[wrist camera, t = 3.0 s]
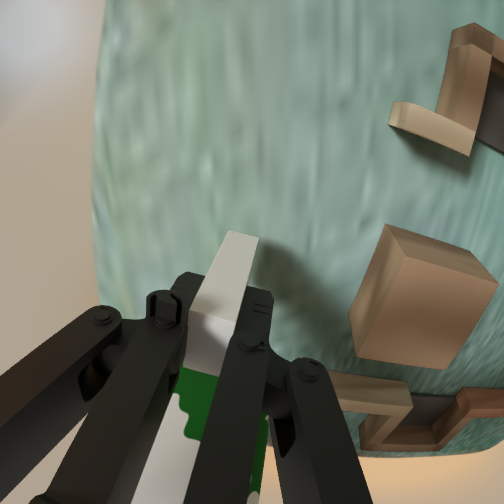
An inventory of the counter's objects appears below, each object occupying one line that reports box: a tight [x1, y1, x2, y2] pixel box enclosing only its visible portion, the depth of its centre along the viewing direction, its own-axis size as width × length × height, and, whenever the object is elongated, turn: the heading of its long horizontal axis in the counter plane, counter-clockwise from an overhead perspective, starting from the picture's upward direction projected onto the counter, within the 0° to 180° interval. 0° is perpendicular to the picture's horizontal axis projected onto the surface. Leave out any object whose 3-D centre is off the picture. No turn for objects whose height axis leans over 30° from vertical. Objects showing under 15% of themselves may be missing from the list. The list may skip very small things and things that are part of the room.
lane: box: [327, 102, 504, 418], centre depth 16 cm, size 18×23×2 cm
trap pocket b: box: [359, 393, 472, 452], centre depth 22 cm, size 5×8×2 cm, turn 78°
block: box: [348, 224, 499, 370], centre depth 16 cm, size 6×6×4 cm
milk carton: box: [131, 360, 269, 504], centre depth 14 cm, size 9×9×20 cm
